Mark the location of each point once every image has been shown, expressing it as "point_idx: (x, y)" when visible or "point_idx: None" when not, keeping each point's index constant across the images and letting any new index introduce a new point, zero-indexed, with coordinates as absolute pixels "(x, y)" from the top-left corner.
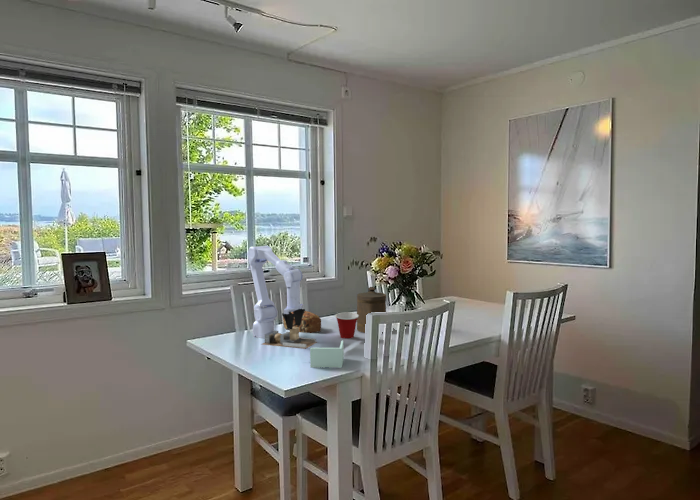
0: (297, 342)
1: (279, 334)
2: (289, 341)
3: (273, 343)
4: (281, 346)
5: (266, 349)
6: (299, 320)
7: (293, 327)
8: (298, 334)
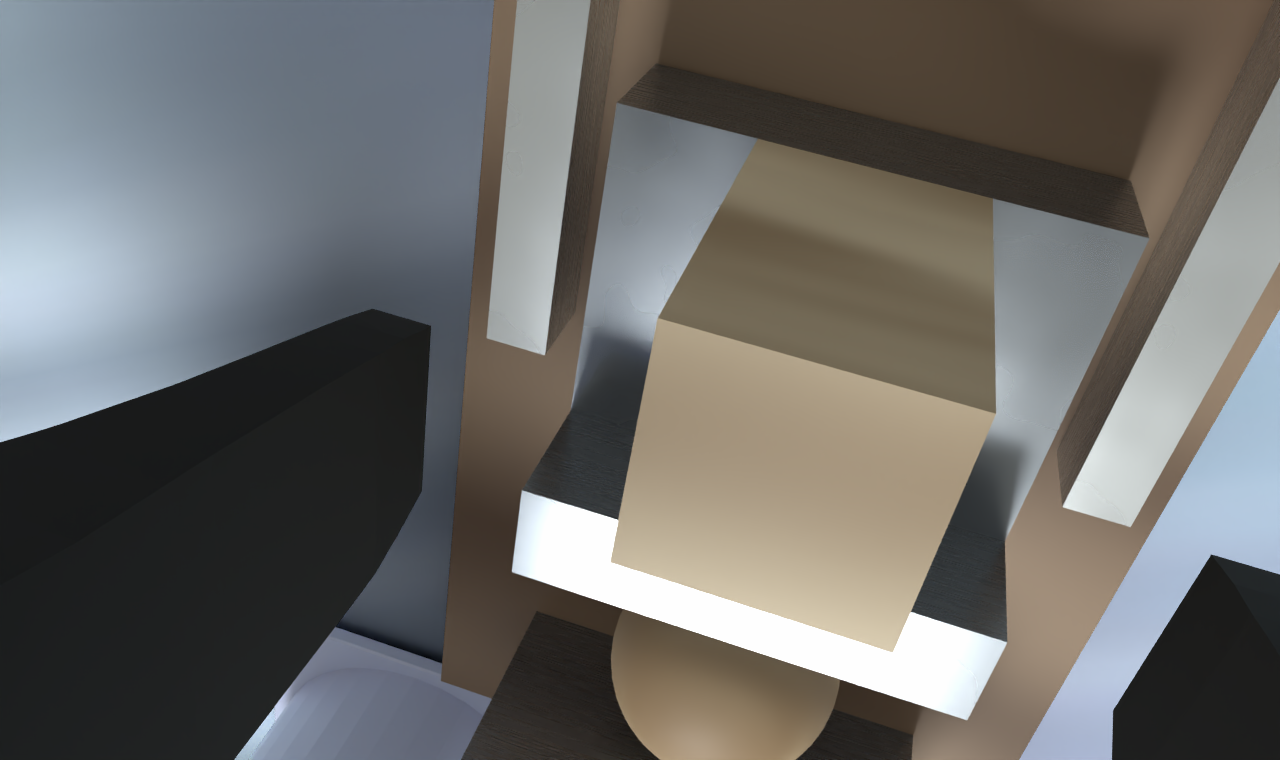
0: (882, 131)
1: (754, 719)
2: (1082, 367)
3: None
4: (1173, 488)
5: (1103, 713)
6: (281, 479)
7: (726, 527)
8: (760, 200)
